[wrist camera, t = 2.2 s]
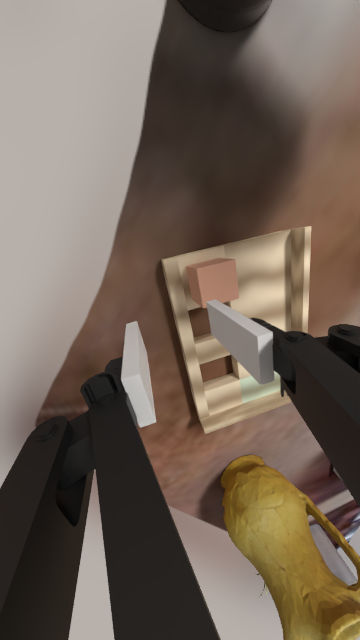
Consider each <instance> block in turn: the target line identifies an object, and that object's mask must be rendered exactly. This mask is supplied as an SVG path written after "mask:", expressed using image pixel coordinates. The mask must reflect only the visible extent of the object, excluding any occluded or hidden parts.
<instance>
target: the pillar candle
mask: <svg viewBox="0 0 360 640" xmlns="http://www.w3.org/2000/svg"><path fill="white" fill-rule="evenodd" d="M309 527H310V531H311V534H312V537H313V539H314V542H315V544H316V546H317V548H318V549H319V551H320V553H321V555H322V557H323V559H324V561H325V563H326V565H327V566H328V568H329V569H330V570H331V572H332V573H333V574H334V575H335V576H336V577H338V578H339V579H340V580H342V581H343V582H344V583H346V584H347V585H352V584H354V583H357V579H356V578H355V576H354V575H353V573H352V572H351V571H350V569H349V568H348V566H347V565H346V563H345V562H344V560H343V559H342V557H341V556H340V555H339V553H338V552H337V550H336V549H335V547H334V546H333V544H332V543H331V541H330V540H329V539H328V537H327V536H326V534H325V533H324V531H323V530H322V528H321V527H320V525H318V524H314V525H310V526H309Z"/></svg>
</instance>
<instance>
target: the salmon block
mask: <svg viewBox="0 0 360 640" xmlns="http://www.w3.org/2000/svg"><path fill="white" fill-rule="evenodd" d="M186 270H187V275H188V280H189V285H190V290H191V296H192V300H193V301H195V302H196V303H197V304H198V305H200V306H201V307H202V308H207V304H206V302H207V301H211V300H215V299H216V300H218V301H219V302H221V303H225V302H228V301H232V300H235V299H239V291H238V281H237V271H236V261H235V259H226V258H217V259H213V260H209V261H204V262H200V263H196V264H192V265H188V266H186Z"/></svg>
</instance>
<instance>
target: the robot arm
mask: <svg viewBox="0 0 360 640" xmlns="http://www.w3.org/2000/svg"><path fill="white" fill-rule="evenodd" d="M271 1H272V0H180V2H181V3H182V4H183V6H184V7H185V8H186V9H187V10H188V11H189V12H190V13H191V14H192V15H193V16H194V17H195V18H196V19H197V20H198V21H200V22H201V23H203V24H204V25H206V26H208V27H210V28H212V29H215V30H219V31H225V32H232V31H238V30H241V29H244V28H246V27H248V26H249V25H251V24H252V23H254V22H255V21H256V20H257V19H258V18H259V17H260V16H261V15H262V14H263V13H264V12H265V10H266V9H267V8H268V6H269V4H270V3H271ZM206 304H207V310H208V316H209V322H210V328H211V334H212V335H213V336H214V337H215V338H216V339H217V340H218V341H219V342H220V343H221V344H222V345H223V346H224V347H225V349H226V350H227V351H228V352H229V353H230V354H231V355H232V356H233V357H234V358H235V359H236V360H237V361H238V362H239V363H240V364H241V365H242V366H243V367H244V368H245V369H246V370H247V371H248V373H249V374H250V375H251V376H252V377H253V378H254V379H255V380H256V381H257V382H258V383H259V384H260V385H263V384H266V383H269V382H272V381H274V371H275V372H277V373H278V374H279V375H280V393H281V397H284V391H286V393H287V396H289V398H290V399H291V401H292V402H293V404H294V405H295V407H296V409H297V410H298V412H299V413H300V415H301V416H302V418H303V419H304V421H305V423H306V424H307V426H308V427H309V429H310V430H311V432H312V434H313V435H314V437H315V438H316V440H317V441H318V443H319V445H320V446H321V448H322V449H323V451H324V452H325V454H326V456H327V457H328V459H329V460H330V462H331V463H332V465H333V467H334V468H335V470H336V471H337V473H338V474H339V476H340V477H341V479H342V481H343V482H344V484H345V485H346V487H347V488H348V490H349V492H350V493H351V495H352V496H353V498H354V499H355V501H356V503H357V504H358V506H359V507H360V327H358V326H354V325H348V324H339V325H335V326H332V327H330V328H329V330H328V336H325V337H316V338H314V337H312V336H311V335H309V334H308V333H305V332H301V331H288V332H285V331H283V330H281V329H279V328H277V327H275V326H273V325H271V324H269V323H267V322H266V321H264V320H262V319H258V318H254V317H253V318H250V319H249V318H247V317H246V316H244V315H242V314H240V313H239V312H237V311H235V310H233V309H232V308H230V307H228V306H226V305H225V304H223V303H221V302H219V301H218V300H216V299H215V300H211V301H207V302H206ZM80 391H81V393H82V395H83V397H84V399H85V401H86V403H87V405H88V407H89V410H88V411H87V412H85V413H84V414H82V415H80V416H78V417H77V418H75V419H73V420H71V421H69V422H68V420H67V419H66V417H64V416H57V417H53V418H51V419H49V420H46V421H45V422H43V423H42V424H40V425H39V426H38V427H37V428H36V429H35V430H34V431H33V432H32V433H31V434H30V435H29V437H28V438H27V440H26V442H25V444H24V445H23V447H22V449H21V451H20V453H19V455H18V457H17V459H16V460H15V462H14V464H13V466H12V468H11V470H10V471H9V473H8V475H7V477H6V479H5V481H4V483H3V485H2V486H1V488H0V640H68V638H69V631H70V624H71V618H72V611H73V605H74V598H75V591H76V584H77V578H78V572H79V565H80V559H81V552H82V545H83V539H84V532H85V526H86V518H87V512H88V506H89V500H90V493H91V486H92V480H93V473H94V469H96V477H97V485H98V495H99V504H100V513H101V522H102V531H103V540H104V549H105V558H106V566H107V576H108V585H109V593H110V603H111V611H112V621H113V629H114V639H115V640H221V639H220V637H219V634H218V632H217V630H216V627H215V624H214V622H213V619H212V617H211V614H210V612H209V609H208V607H207V604H206V602H205V599H204V597H203V594H202V591H201V589H200V586H199V584H198V581H197V579H196V576H195V574H194V571H193V569H192V566H191V563H190V561H189V558H188V556H187V553H186V551H185V548H184V546H183V543H182V541H181V538H180V536H179V533H178V531H177V528H176V526H175V523H174V520H173V518H172V515H171V513H170V510H169V508H168V505H167V503H166V500H165V498H164V495H163V493H162V490H161V487H160V485H159V482H158V480H157V477H156V475H155V472H154V470H153V467H152V465H151V462H150V460H149V457H148V454H147V452H146V449H145V447H144V444H143V442H142V439H141V437H140V434H139V432H138V429H137V421H138V424H139V426H140V428H141V427H144V426H147V425H150V424H152V423H155V422H156V416H155V409H154V401H153V394H152V387H151V379H150V372H149V365H148V357H147V352H146V349H145V346H144V342H143V339H142V336H141V333H140V330H139V327H138V323H137V321H135V322H131V323H128V324H126V331H125V342H124V352H123V357H121V358H117V359H114V360H111V361H110V362H109V363H108V364H107V366H106V368H105V372H102V373H99V374H97V375H95V376H93V377H91V378H90V379H88V380H87V381H86V382H85V383H84V384H83V385H82V387H81V390H80Z"/></svg>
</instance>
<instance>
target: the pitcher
mask: <svg viewBox="0 0 360 640" xmlns="http://www.w3.org/2000/svg"><path fill="white" fill-rule="evenodd" d="M220 484H221V486H222V488H224V489H225V492H224V497H223V502H222V505H223V506H224V508H225V512H224V516H223V519H224V522H225V526H226V528H227V531H228V533H229V536H230V538H231V539H232V541H233V543H234V544H235V546H236V547H237V548H238V549H239V550H240V551H241V553H242V554H243V555H244V556H245V557H246V558H247V559H248V560H249V561H250V562H251V563H252V564H253V565H254V566H255V568H256V569H257V570H258V572H259V573H260V575H261V576H262V578H263V580H264V581H265V583H266V585H267V587H268V589H269V591H270V594H271V595H272V598H273V600H274V603H275V605H276V608H277V610H278V613H279V617H280V620H281V624H282V628H283V638H284V640H355V639H356V638H357V637H358V636H360V557H359V555H358V554H357V553H356V552H355V550H354V549H353V548H352V547H351V546H350V545H349V544H348V542H347V541H346V540H345V538H344V537H343V535H342V534H341V533H340V532H339V531H338V530H337V529H336V527H335V526H334V525H333V524H332V523H331V522H330V521H329V520H328V519H327V518H326V517H325V516H324V515H323V514H322V512H321V511H320V510H319V509H318V508H317V507H316V506H315V505H314V503H313V502H312V501H311V500H310V499H309V498H308V497H307V496H306V495H305V494H303V493H302V492H301V491H299V490H298V489H297V488H296V487H295V486H294V485H293V484H292V483H291V482H289V481H288V480H287V479H286V478H285V477H284V476H283V475H282V474H281V473H280V472H279V471H277V470H275V469H273V468H271V467H269V466H267V465H265V463H264V461H263V459H262V457H261V458H260V457H258V456H256V455H248V456H246V455H245V456H243V457H239V458H238V459H236V460H235V461H232V463H231V464H230V465H229V466H228V467H227V468H226V469H225V472H223V475H222V476H221V480H220ZM308 515H312V516H313V517H314V518H315V519H316V520H317V521H318V523H319V524H320V525H321V526H322V527H323V528H324V529H325V530H326V531H327V532H328V533H329V534H330V535H331V536H332V537H333V539H334V540H335V541H336V542H337V543H338V544H339V545H340V547H341V548H342V549H343V550H344V552H345V553H346V554H347V556H348V557H349V558H350V560H351V561H352V562H353V564H354V565H355V567H356V569H357V575H358V581H357V583H354V584H352V585H347V584H346V583H344V582H343V581H342V580H340V579H339V578H338V577H336V576H335V575H334V574H333V573H332V572H331V570H330V569H329V568H328V566H327V565H326V563H325V561H324V559H323V557H322V555H321V553H320V551H319V549H318V548H317V546H316V544H315V542H314V539H313V537H312V534H311V531H310V527H309V523H308Z"/></svg>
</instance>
